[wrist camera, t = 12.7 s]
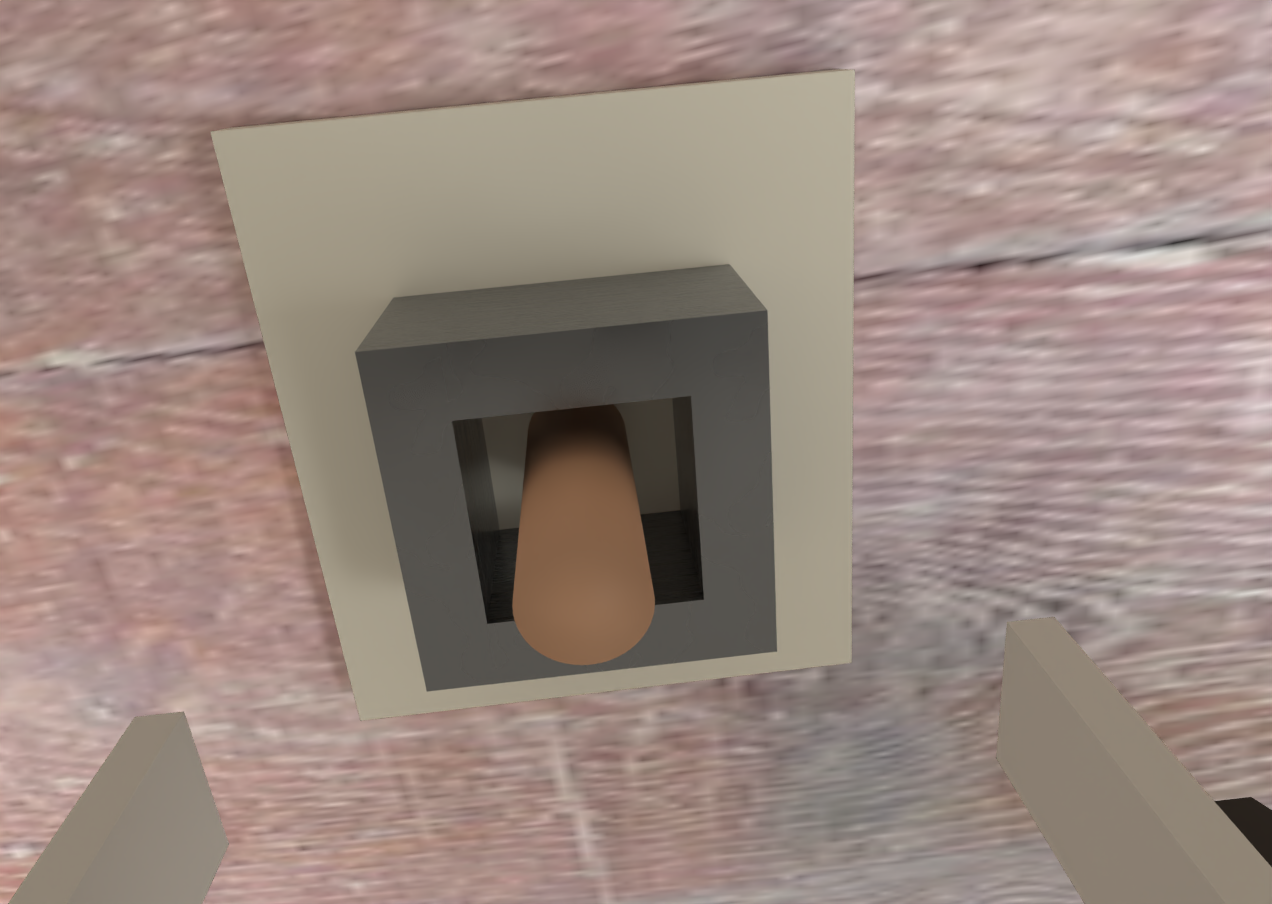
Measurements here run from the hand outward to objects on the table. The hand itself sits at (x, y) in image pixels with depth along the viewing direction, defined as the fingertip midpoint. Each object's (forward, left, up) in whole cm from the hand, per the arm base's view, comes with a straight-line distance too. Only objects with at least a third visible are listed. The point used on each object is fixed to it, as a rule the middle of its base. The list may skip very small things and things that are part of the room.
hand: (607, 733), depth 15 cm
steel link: (0, 0, -13) cm, 13 cm away
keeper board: (0, 0, -14) cm, 14 cm away
